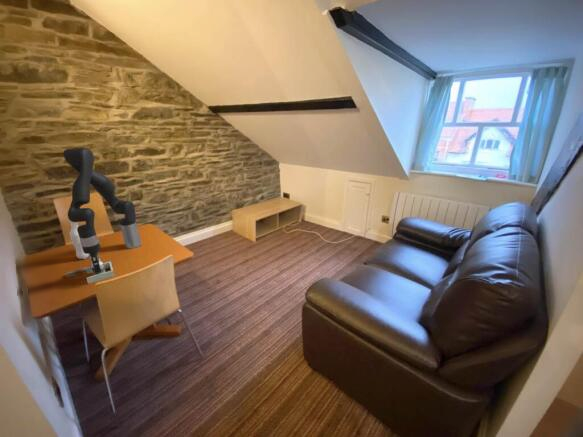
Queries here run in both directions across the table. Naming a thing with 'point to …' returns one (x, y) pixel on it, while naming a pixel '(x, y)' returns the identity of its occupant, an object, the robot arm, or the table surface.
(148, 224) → the table surface
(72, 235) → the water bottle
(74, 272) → the bar
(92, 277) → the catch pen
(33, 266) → the table surface
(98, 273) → the pill bottle
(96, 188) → the robot arm
